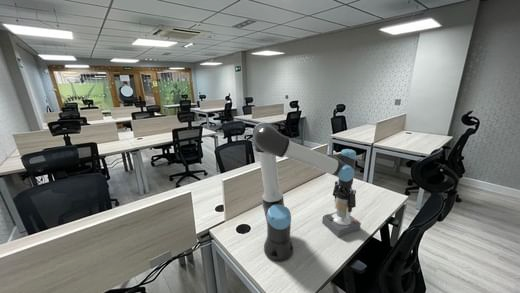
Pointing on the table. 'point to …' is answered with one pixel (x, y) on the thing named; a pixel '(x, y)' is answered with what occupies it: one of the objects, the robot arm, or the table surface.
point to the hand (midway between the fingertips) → (342, 211)
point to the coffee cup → (341, 203)
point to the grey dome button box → (341, 224)
